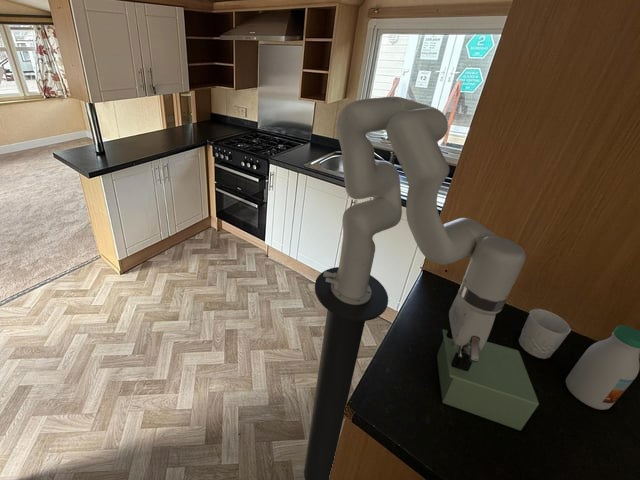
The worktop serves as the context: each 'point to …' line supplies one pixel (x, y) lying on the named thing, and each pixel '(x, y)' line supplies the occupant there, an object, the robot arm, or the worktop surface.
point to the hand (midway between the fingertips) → (456, 352)
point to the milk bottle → (606, 369)
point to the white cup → (543, 333)
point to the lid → (494, 370)
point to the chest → (481, 398)
